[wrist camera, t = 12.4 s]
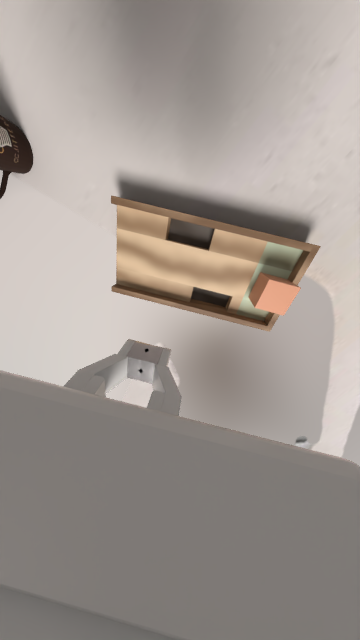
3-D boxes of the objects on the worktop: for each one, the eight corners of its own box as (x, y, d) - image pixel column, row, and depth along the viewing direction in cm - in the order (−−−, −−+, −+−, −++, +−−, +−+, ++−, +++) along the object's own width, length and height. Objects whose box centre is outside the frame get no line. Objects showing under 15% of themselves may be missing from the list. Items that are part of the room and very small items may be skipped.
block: (260, 272, 29) (269, 279, 25) (287, 279, 29) (301, 287, 25) (248, 297, 32) (254, 307, 28) (273, 303, 32) (283, 315, 27)
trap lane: (123, 200, 29) (111, 195, 25) (305, 244, 28) (320, 246, 25) (121, 284, 37) (111, 291, 33) (263, 320, 36) (269, 331, 33)
